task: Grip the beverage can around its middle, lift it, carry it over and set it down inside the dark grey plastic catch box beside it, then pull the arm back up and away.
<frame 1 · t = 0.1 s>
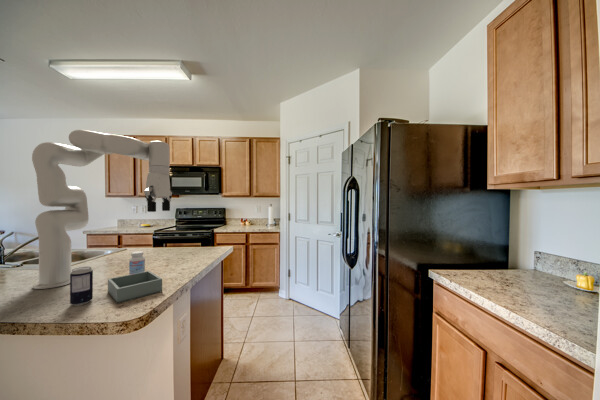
hand: (159, 211, 98), 31 cm above the countertop, tool pointing down, fingers open, 9 cm apart
catch box: (135, 291, 90), on the countertop
pill bottle: (137, 276, 109), on the countertop
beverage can: (81, 303, 80), on the countertop
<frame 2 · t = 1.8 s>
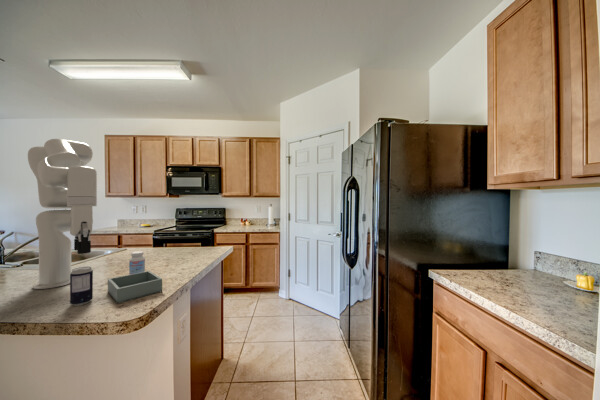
hand: (82, 251, 80), 18 cm above the countertop, tool pointing down, fingers open, 9 cm apart
nothing on the countertop moved.
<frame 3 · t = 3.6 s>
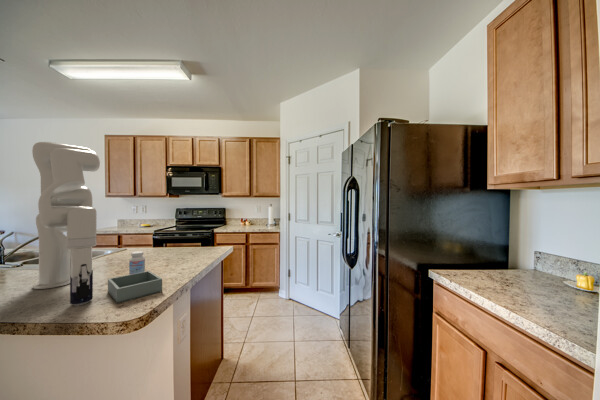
hand: (81, 294, 80), 3 cm above the countertop, tool pointing down, fingers closed on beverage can, 5 cm apart
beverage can: (81, 303, 80), on the countertop, touching gripper
everything else where it was.
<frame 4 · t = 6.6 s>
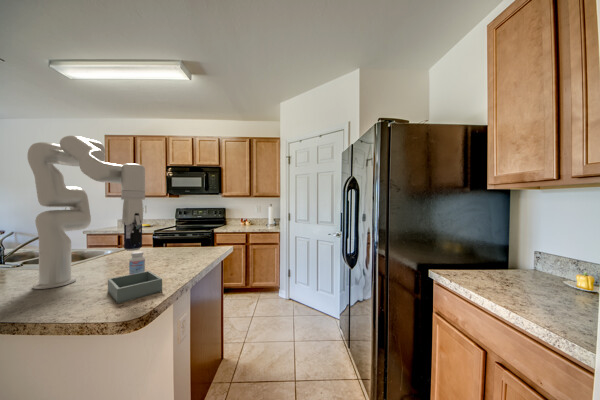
hand: (133, 241, 89), 20 cm above the countertop, tool pointing down, fingers closed on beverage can, 5 cm apart
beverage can: (133, 250, 89), point 16 cm above the countertop, touching gripper
everything else where it was.
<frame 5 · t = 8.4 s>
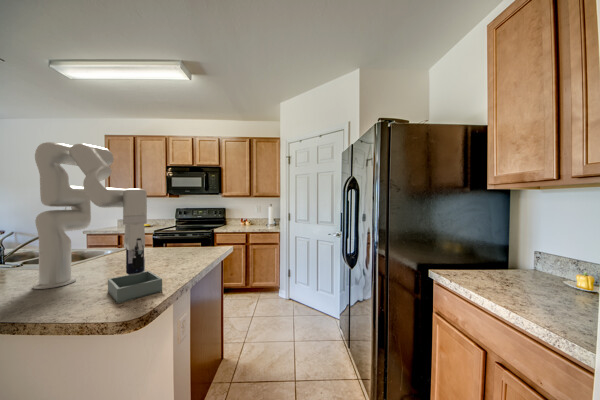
hand: (135, 266, 90), 10 cm above the countertop, tool pointing down, fingers closed on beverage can, 5 cm apart
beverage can: (135, 274, 90), point 7 cm above the countertop, touching gripper
everything else where it was.
when the fingers open (6 cm above the countertop, at t = 9.7 s): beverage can drops 2 cm, resting on catch box.
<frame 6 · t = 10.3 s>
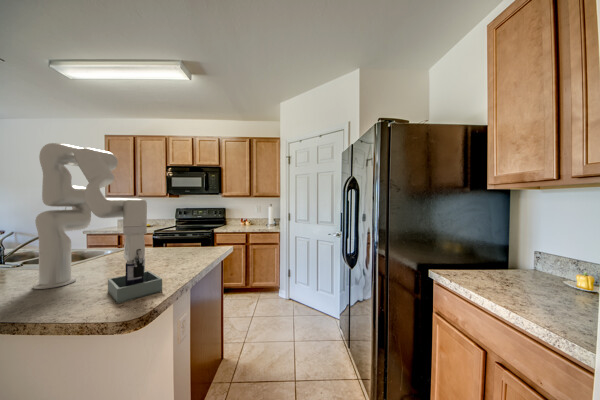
hand: (135, 274, 90), 7 cm above the countertop, tool pointing down, fingers open, 9 cm apart
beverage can: (134, 290, 90), resting on catch box
everything else where it was.
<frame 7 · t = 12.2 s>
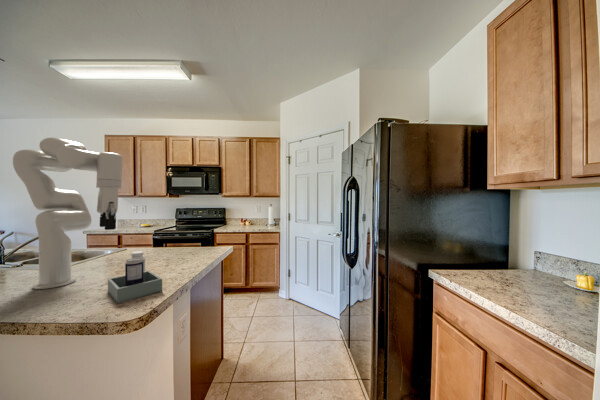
hand: (107, 228, 90), 25 cm above the countertop, tool pointing down, fingers open, 9 cm apart
nothing on the countertop moved.
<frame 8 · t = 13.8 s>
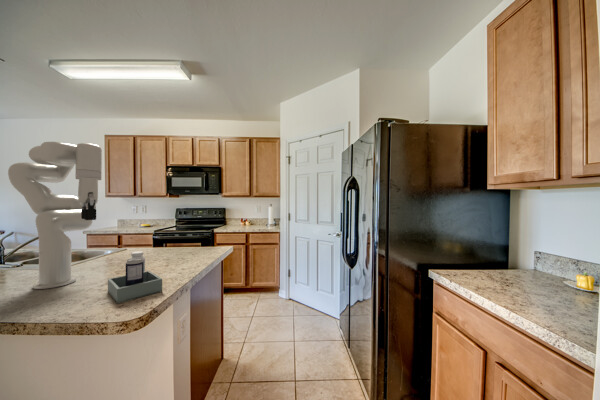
hand: (88, 219, 90), 28 cm above the countertop, tool pointing down, fingers open, 9 cm apart
nothing on the countertop moved.
at the end: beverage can inside the target area on the catch box (0.2 cm from its centre), point 0.4 cm above the catch box's base; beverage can tilted 0°; the gripper is holding nothing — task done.
